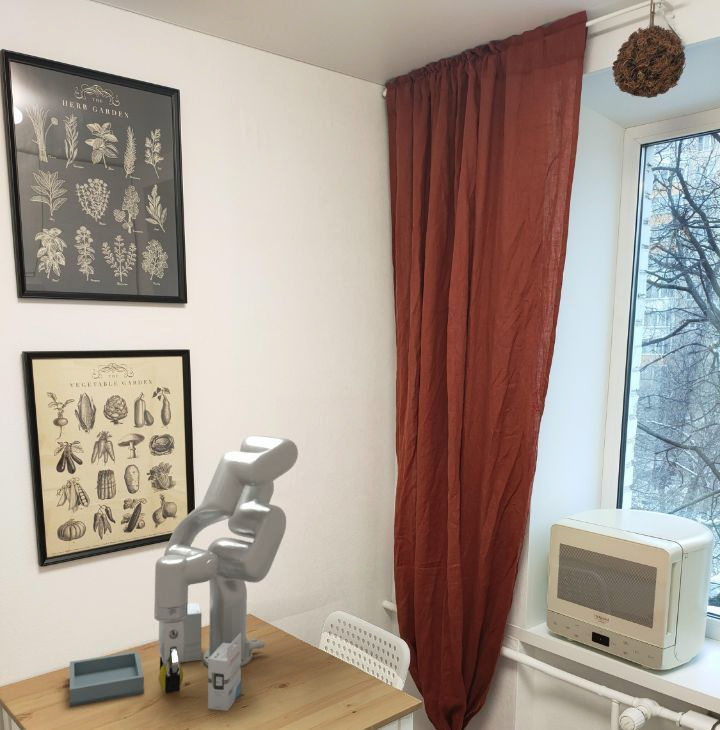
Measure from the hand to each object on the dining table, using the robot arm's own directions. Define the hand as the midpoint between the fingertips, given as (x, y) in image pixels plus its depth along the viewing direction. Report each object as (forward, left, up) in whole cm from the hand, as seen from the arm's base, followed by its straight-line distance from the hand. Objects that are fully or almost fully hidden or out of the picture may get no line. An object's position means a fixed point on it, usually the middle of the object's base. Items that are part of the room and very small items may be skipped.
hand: (169, 681), depth 159 cm
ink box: (-11, +8, -3) cm, 14 cm away
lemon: (0, 0, -3) cm, 3 cm away
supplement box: (-7, -18, -3) cm, 19 cm away
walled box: (+14, -9, -3) cm, 17 cm away
